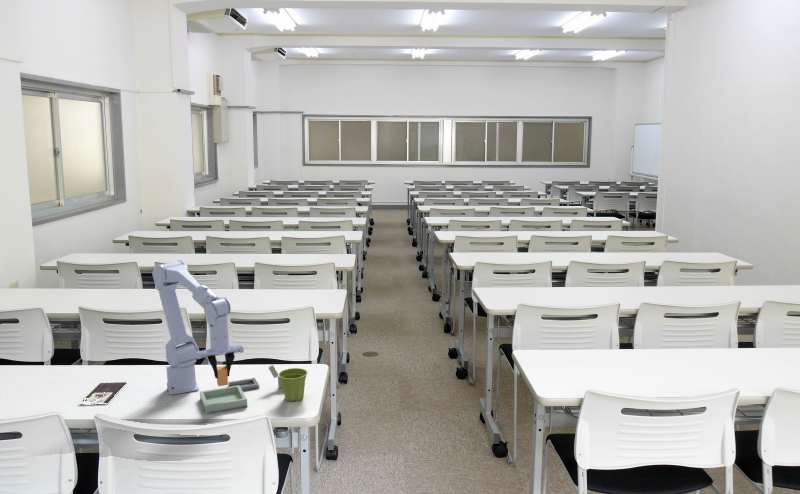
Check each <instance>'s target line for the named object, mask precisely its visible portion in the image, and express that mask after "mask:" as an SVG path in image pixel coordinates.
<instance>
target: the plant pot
mask: <svg viewBox="0 0 800 494" xmlns="http://www.w3.org/2000/svg"><path fill="white" fill-rule="evenodd" d="M278 375H279V377H280V380H281V381H282V386H283V388H282V390H283V395H284V399H285V400H286V401H288V402H294V401H296V402H298V401H302V400H303V398H304V397H305V386H306V385H305V384H306V378H307V376H308V371H307V369H305V368H301V367H293V368H286V369H283V370H281V371H280V372H278Z"/></svg>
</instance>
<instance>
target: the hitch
mask: <svg viewBox="0 0 800 494" xmlns="http://www.w3.org/2000/svg"><path fill="white" fill-rule="evenodd" d="M237 385H240V387H241V389H242V391H243V392H244V391H249V390H257V389H260V384H259V382H258V381H257V379H256V378H255V377H253V378H246V379H241V380H240V379H238V380H233V381H228V385H227V386H228V387H231V386H237Z"/></svg>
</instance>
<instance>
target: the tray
mask: <svg viewBox="0 0 800 494" xmlns="http://www.w3.org/2000/svg"><path fill="white" fill-rule="evenodd" d="M240 386H241V385H236V386H230V387H229V386H225V387H221V388H213V389H207V390H202V391H199V397H200V398H199V399H200V402H201V406H202V407H203V410H204V413H205V415H209V414H214V413H221V412H227V411H231V410H237V409H243V408H247V407H248V398H247V397H246V395H245V393H244V391H242V389H241V387H240Z"/></svg>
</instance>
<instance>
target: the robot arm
mask: <svg viewBox="0 0 800 494" xmlns="http://www.w3.org/2000/svg"><path fill="white" fill-rule="evenodd" d="M151 275H152V279H153V282H154V286H155V290H156V291H158V294H159V298H160V302H161V306H162V309H163V313H164V316H165V317H164V318H165V321H166V324H167V329H168V332H169V336H170V339H169V340H168V341H167V342H166V344H165V346H164V347H165V358H166V361H167V363H168V364H169V365H167V366H166V368H165V369H166V378H167V379H166V381H167V382H166V386H167V387H166V388H167V389H168V394H169V395H176V394H183V393H184V394H186V393H190V392H196V391H199V390H200V389H199V386H198V383H197V377H196V366H195V365H196V364H195V363H196V362H197V360H200V359H203V358H207V361H208V363H209V364H210V365H211V367H212V371H213V374H214V378H215V379H217V378H218V373H217V367H218V364H217V363H218V361H217V358H216V356H223V355H224V359H225V360H224V361H225V366H226V368H227V375H228V377H230V373H231V369H232V368H231V367H232V365H233V362H234V360H235V357H236V356H235V354H238V353H240V354H242V353H244V352H245V351H244V350H245V349H244V346H243V345H242V344H241V345H230V342H229V328H228V325H229V324H228V323H229V322H228V315H229V314H230V313H231V311H232V310H231V309H232V308H231V304H230V301H229V300H228V299H227V298H226V297H222V296H218V295H217V294H216V293H215V292H213V291H212V290H211V289H210V288H209V287H208V286H207V285H201V284H200V283H199V282H198V281H197V280H196V278H194V277H193V275H192V274H191V273H190V272H189V266H188V265H187V264H186V263H185V262H184V261H183V260H181V259H180V260H176V261H172V262H171V261H170V262H167V263H162V264H156V265H155V266H154V268H153V270H152V272H151ZM179 285H182V286H183V287H184V288H185V289H186V290H188V291H189V292H191V294H192V299H193V300H194V301H195V302H196V303H197V304H198V305H199V306H200V307H202V308H203V312H204V316H205V317H206V322H207V324H208V325H209V328H208V329H209V340H210V341H209V343H210V348H207V349H203V350H200V349H199V348H200V347H199V346H198V345H197V343H196V340H195V338H194V337H193V336H192V335H189V334H187V331H186V327H185V322H184V320H183V319H184V318H183V316H182V311H181V307H180V304H179V301H178V297H177V292H176V288H178V286H179Z"/></svg>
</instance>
